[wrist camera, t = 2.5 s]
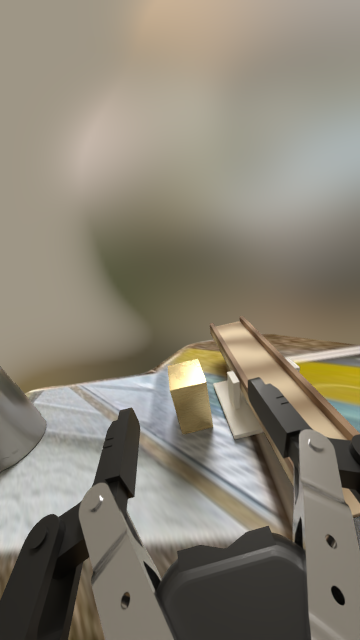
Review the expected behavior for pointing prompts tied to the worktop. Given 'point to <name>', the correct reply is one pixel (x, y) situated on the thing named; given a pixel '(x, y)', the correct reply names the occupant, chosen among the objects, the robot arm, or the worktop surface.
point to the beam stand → (239, 406)
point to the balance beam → (280, 387)
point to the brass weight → (190, 396)
